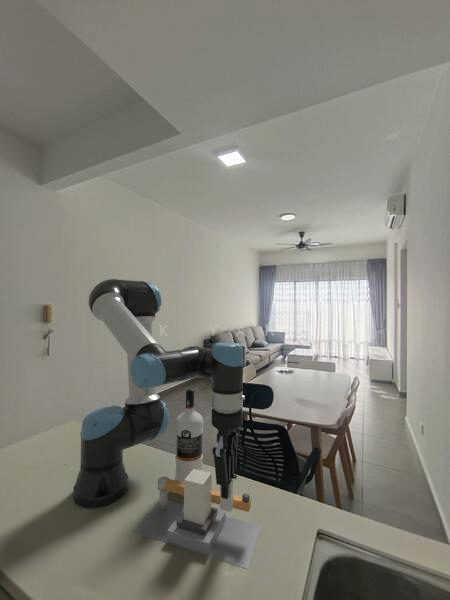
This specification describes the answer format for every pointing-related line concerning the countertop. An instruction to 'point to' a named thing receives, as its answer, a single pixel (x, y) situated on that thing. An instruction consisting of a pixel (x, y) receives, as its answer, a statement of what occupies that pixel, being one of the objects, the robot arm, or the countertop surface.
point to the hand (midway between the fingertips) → (226, 508)
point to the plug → (197, 502)
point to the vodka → (188, 440)
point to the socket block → (216, 543)
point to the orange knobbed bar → (238, 501)
